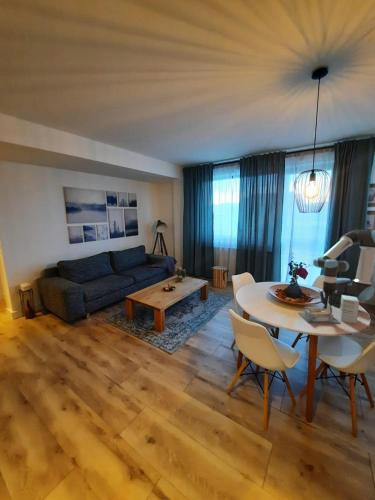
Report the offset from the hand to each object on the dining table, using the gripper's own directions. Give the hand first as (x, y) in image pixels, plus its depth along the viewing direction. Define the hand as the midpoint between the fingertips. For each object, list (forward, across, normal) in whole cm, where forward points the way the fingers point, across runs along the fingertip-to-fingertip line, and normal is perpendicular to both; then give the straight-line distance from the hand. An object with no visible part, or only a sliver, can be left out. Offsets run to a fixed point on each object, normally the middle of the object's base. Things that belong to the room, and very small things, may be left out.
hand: (327, 312), depth 149 cm
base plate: (+6, +4, -4) cm, 8 cm away
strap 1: (+1, +2, -8) cm, 9 cm away
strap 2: (+1, +5, 0) cm, 5 cm away
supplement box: (+7, -16, -3) cm, 18 cm away
